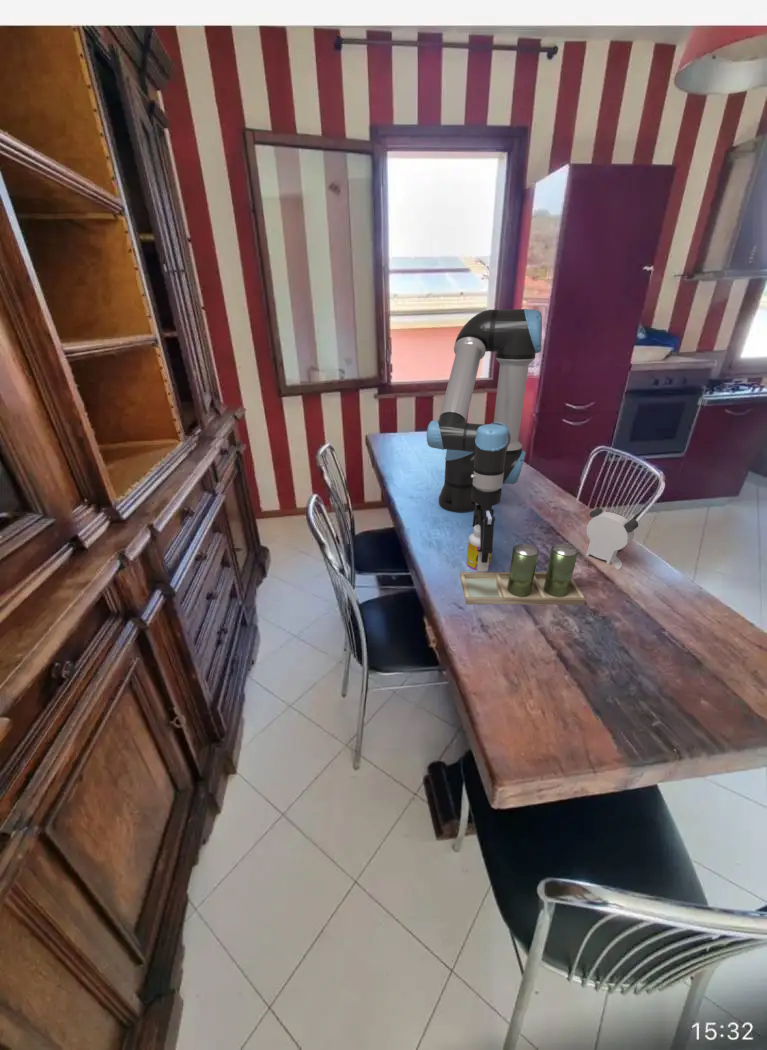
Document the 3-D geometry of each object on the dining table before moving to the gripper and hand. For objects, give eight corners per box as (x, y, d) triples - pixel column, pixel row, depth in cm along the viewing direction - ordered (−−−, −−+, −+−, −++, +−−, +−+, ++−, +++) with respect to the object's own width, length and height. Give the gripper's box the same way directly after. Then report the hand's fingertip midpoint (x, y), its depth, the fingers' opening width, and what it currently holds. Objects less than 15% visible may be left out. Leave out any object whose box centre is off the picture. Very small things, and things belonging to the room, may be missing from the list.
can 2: (540, 583, 111) (548, 543, 105) (563, 583, 111) (572, 543, 105) (547, 597, 106) (556, 555, 100) (571, 597, 105) (582, 555, 99)
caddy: (459, 579, 115) (460, 572, 113) (566, 579, 114) (568, 572, 112) (465, 607, 104) (466, 599, 103) (583, 607, 103) (585, 599, 102)
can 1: (504, 583, 111) (510, 543, 105) (527, 583, 111) (534, 543, 105) (510, 597, 106) (516, 555, 100) (534, 597, 106) (542, 555, 100)
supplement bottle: (472, 575, 116) (476, 535, 110) (462, 563, 122) (465, 524, 116) (494, 571, 118) (499, 532, 111) (483, 559, 123) (487, 520, 117)
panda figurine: (630, 562, 120) (645, 516, 113) (613, 578, 114) (627, 530, 107) (589, 546, 128) (600, 502, 121) (571, 560, 122) (582, 514, 115)
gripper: (466, 472, 117) (460, 543, 127) (479, 503, 98) (472, 583, 108) (493, 472, 117) (485, 543, 127) (511, 503, 98) (501, 583, 108)
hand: (479, 561), depth 117 cm, fingers open, 9 cm apart
